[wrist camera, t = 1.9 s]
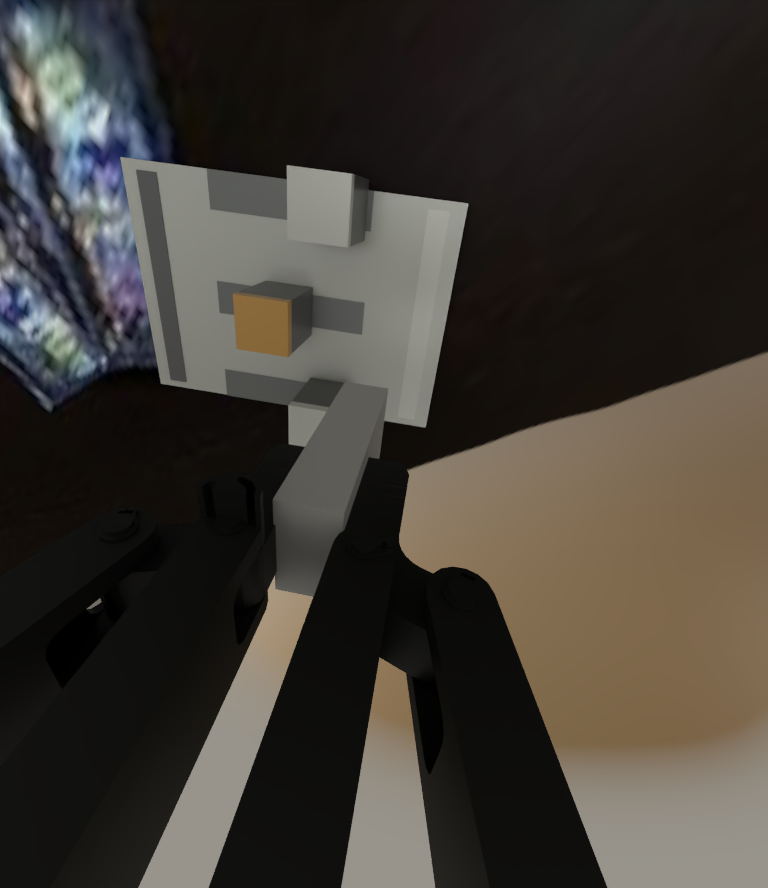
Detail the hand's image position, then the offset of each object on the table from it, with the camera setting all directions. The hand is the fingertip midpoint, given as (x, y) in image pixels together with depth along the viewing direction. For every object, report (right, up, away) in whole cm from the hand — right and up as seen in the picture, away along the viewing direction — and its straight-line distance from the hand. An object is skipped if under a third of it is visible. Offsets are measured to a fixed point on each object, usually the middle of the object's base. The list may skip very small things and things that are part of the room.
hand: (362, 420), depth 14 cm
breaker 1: (-5, +8, +12) cm, 15 cm away
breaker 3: (-3, +2, +15) cm, 15 cm away
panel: (-5, +9, +14) cm, 17 cm away
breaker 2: (-2, +13, +9) cm, 15 cm away
